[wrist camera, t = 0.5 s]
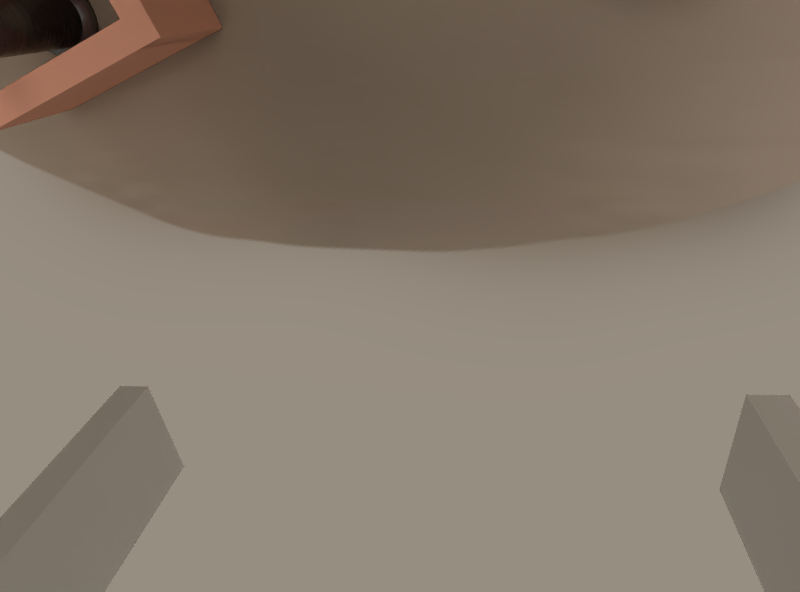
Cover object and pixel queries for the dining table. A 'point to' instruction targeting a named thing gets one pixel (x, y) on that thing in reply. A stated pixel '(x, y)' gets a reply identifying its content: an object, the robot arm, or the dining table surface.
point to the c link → (108, 57)
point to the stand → (44, 25)
